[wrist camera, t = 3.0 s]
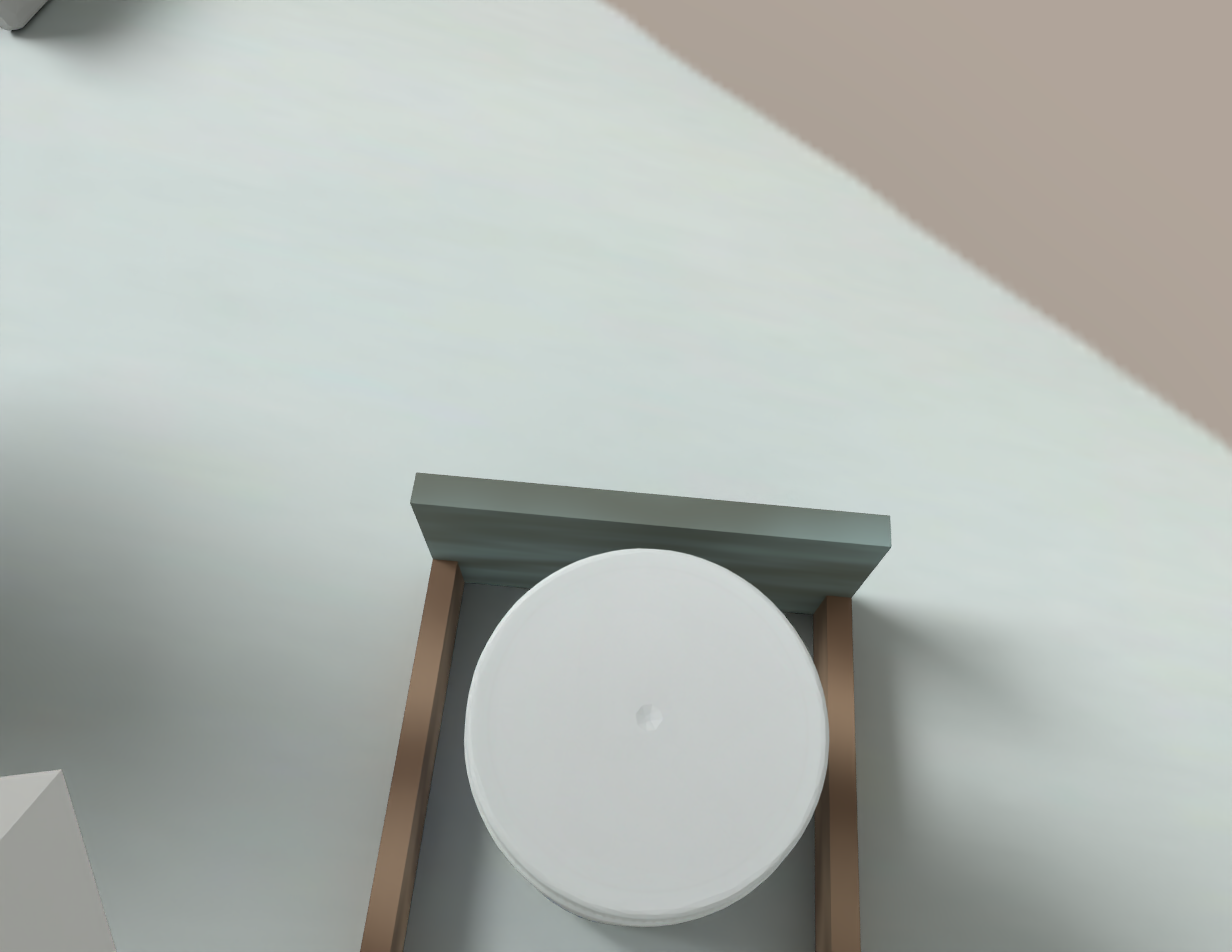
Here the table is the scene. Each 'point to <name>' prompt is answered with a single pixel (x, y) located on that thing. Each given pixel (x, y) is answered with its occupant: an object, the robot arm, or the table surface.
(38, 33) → the table surface
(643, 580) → the supplement tub
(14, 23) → the electrical switch
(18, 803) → the robot arm
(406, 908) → the bracket
